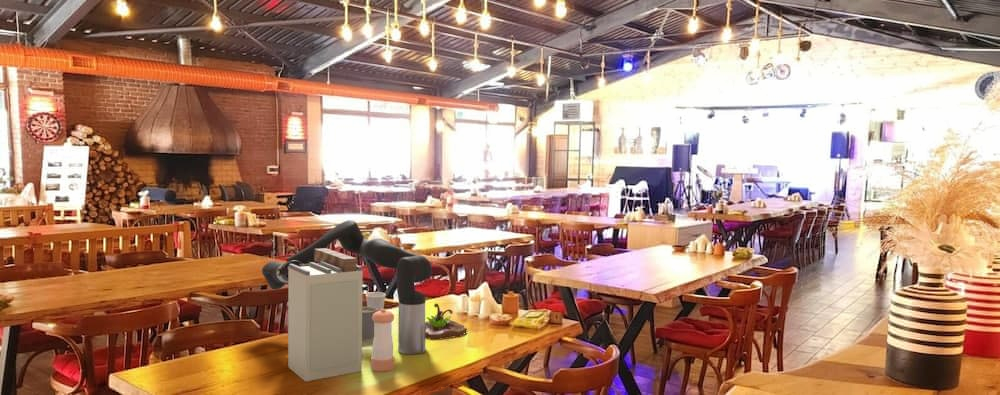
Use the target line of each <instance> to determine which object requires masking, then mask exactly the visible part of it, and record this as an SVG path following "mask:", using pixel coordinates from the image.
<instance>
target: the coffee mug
mask: <svg viewBox="0 0 1000 395" xmlns="http://www.w3.org/2000/svg"><path fill="white" fill-rule="evenodd" d="M377 311H378V309H377V308H375V307H367V306H362V340H370V339H374V323H375V322H373V320H372V316H373V314H374V313H375V312H377Z"/></svg>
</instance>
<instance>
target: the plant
mask: <svg viewBox="0 0 1000 395" xmlns="http://www.w3.org/2000/svg"><path fill="white" fill-rule="evenodd" d="M433 307H434V308H437V312H436V315H435V316H433V315H430V316H431V317H428V316H425V319H427V320H428V321H425V322H426V337H428V338H430V339H429V340H441V339H440V338H443V339H447V338H446V337H448V338H454V337H453V336H457V337H461V336H460V335H462V336H464V335H465V334H464V333H466V332H468V329H467V327H465V325H463V324H461V323H459V322H457V321H455V320H451V319H450V318H452V316H451V315H452V314H454V312H453V310H452V309H445V310H444V311H442V310H441V309H440V305H439V303H435V302H434V305H433ZM447 312H449V314H450V315H449V316H447V317H444V315H445V314H446V313H447ZM463 334H464V335H463ZM466 334H467V333H466ZM428 338H427V339H428Z"/></svg>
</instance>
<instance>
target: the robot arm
mask: <svg viewBox="0 0 1000 395" xmlns="http://www.w3.org/2000/svg"><path fill="white" fill-rule="evenodd" d="M337 240H338V242H339V243H340V245H341V247H342V249H344V250H345V252H350V253H352V254H355V255H359V256H361V257H362V258H364V259H367V260H369V261H370V262H371V263H373V264H375V265H377V266H380V267H383V268H388V269H394V270H396V293H397V296H398V329H397V330H398V335H397V336H398V339H397V341H398V343H397V347H398V348H397V351H398V352H399V353H400V354H404V355H417V354H424V353H425V350H426V340H427V338H426V322H427V321H426V294H425V293H424V292H421V291H418V290H416V287H415V283H422V282H424V281H425V282H426V280H428V279H429V278H430V277H431V275H432V273H433V267H432V264H431V262H430V261H429V259H428V258H426V257H425V256H424V255H420V254H417V253H413V252H411V251H407V250H405V249H403V248H401V247H399V246H397V245H395V244H393V243H391V242H389V241H387V240H385V239H383V238H377V237H375V238H373V239H371V240H369V239H367V238H366V237H365V236H364V234H363V232H362V230H361V229H360V227H359V225H358V224H357V222H356V221H355V220H353V219H352V220H351V219H349V220H345V221H342V222H341V223H339V224H338V225H336V226H335V227H332V229H330V230H329V231H327V233H324V235H322V236H321V237H320V238H319V239H317V240H316V241H315V242H313V243H311V244H310V245H308V246H307V247H306V248H304V249H301V250H300V251H298V252H296V253H294V254H292V255H290V256H289V257H288V258H286V261H285V262H280V261H269V262H267V263H266V264H264V265H263V267H262V270H261V273H262V275H263V277H264V278H265V280H266V282H267V284H268V285H269V287H270V288H271V289H272V290H281V289H282V288H283V287H285V285H287V283H288V268H289V264H294V265H296V266H299V267H304V266H310V262H314V263H316V264H319V265H320V263H319V262H317V261H314V249H320V248H327V249H328V247H329V245H331V244H332V243H333V242H335V241H337Z"/></svg>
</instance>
